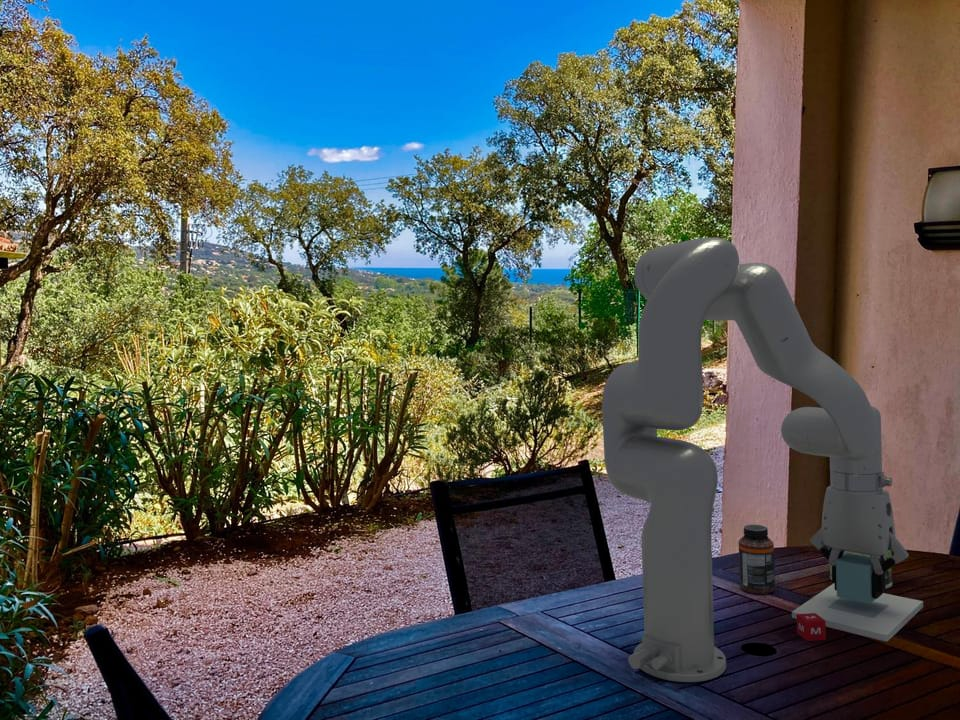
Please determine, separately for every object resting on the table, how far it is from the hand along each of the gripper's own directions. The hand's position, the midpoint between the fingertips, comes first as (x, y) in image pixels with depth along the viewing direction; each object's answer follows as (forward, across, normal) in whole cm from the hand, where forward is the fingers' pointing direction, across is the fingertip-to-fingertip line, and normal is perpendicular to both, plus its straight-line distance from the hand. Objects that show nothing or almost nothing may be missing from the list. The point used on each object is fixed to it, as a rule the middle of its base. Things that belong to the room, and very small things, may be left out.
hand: (858, 591), depth 120 cm
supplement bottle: (+4, +17, 0) cm, 17 cm away
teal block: (+1, 0, 0) cm, 1 cm away
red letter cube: (+4, +2, +14) cm, 15 cm away
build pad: (+4, 0, 0) cm, 4 cm away
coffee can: (+4, +5, -16) cm, 17 cm away
